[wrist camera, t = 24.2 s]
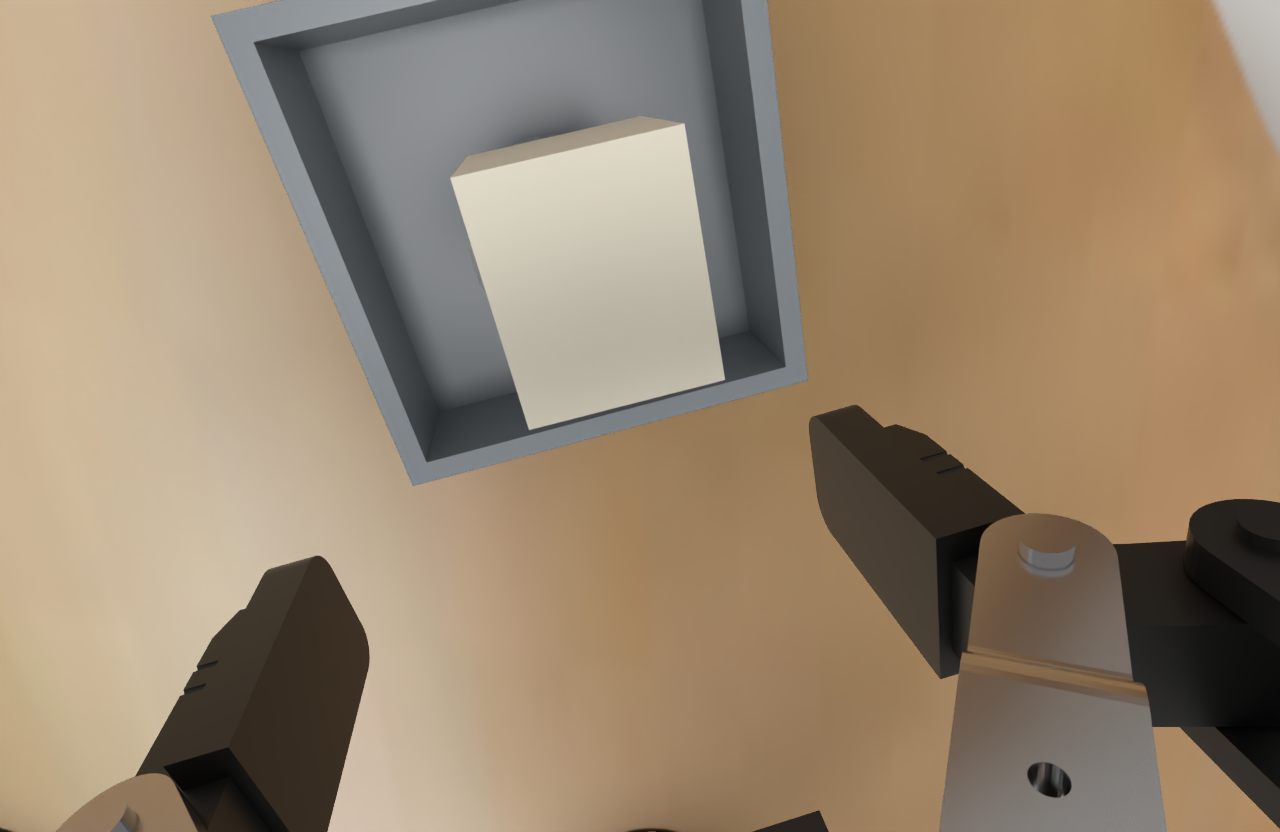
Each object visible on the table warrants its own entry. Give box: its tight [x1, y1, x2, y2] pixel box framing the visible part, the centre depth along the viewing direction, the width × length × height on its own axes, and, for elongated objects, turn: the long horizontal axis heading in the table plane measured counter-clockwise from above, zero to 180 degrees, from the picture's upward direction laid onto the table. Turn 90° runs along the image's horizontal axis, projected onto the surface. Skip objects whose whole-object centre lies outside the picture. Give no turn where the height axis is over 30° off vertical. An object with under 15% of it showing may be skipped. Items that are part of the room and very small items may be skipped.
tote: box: [211, 0, 808, 486], centre depth 25 cm, size 16×16×6 cm
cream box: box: [450, 116, 725, 430], centre depth 18 cm, size 6×5×6 cm
